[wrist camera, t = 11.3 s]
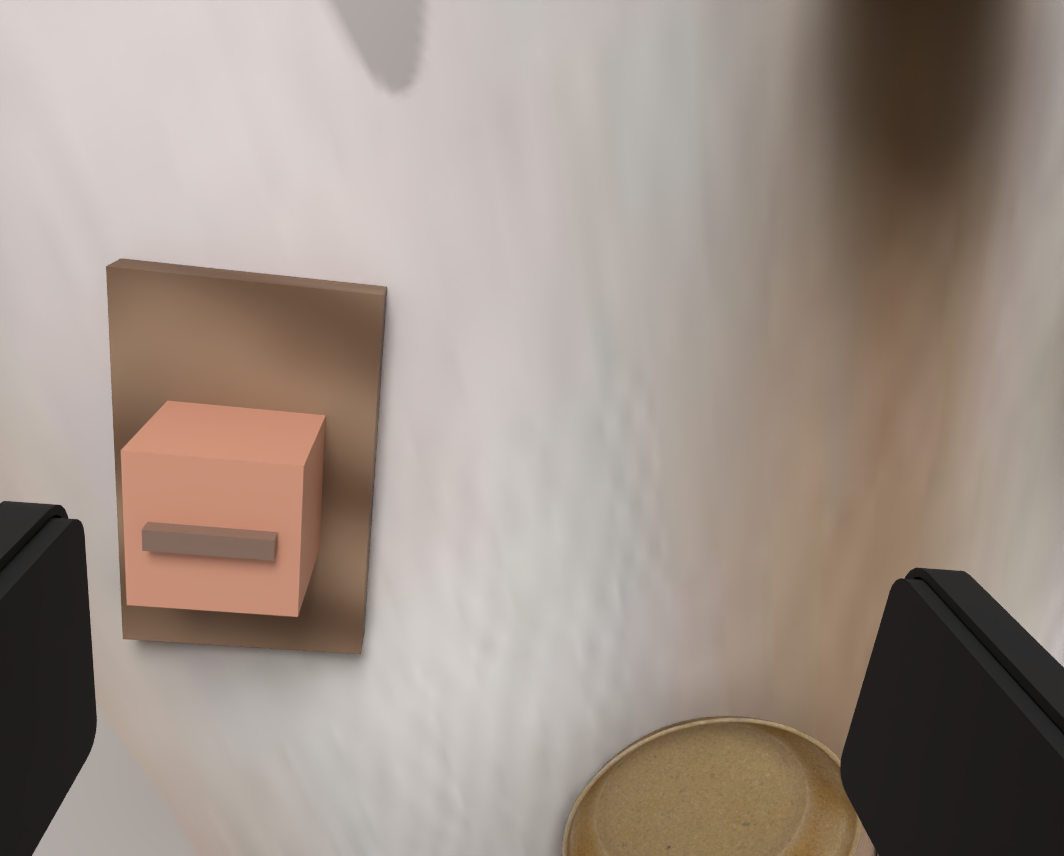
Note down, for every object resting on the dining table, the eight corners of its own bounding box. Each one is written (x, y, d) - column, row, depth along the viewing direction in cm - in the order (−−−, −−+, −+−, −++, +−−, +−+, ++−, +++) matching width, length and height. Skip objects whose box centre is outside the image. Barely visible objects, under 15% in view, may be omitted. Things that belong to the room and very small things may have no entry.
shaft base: (363, 634, 41) (350, 706, 36) (135, 619, 40) (90, 690, 35) (386, 286, 35) (374, 318, 30) (120, 258, 34) (65, 286, 29)
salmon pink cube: (319, 550, 37) (295, 626, 32) (170, 538, 37) (120, 614, 32) (325, 415, 35) (300, 473, 30) (167, 400, 35) (114, 457, 29)
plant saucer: (875, 693, 44) (899, 729, 42) (804, 916, 49) (822, 959, 47) (580, 673, 43) (587, 709, 40) (538, 905, 48) (542, 949, 45)
